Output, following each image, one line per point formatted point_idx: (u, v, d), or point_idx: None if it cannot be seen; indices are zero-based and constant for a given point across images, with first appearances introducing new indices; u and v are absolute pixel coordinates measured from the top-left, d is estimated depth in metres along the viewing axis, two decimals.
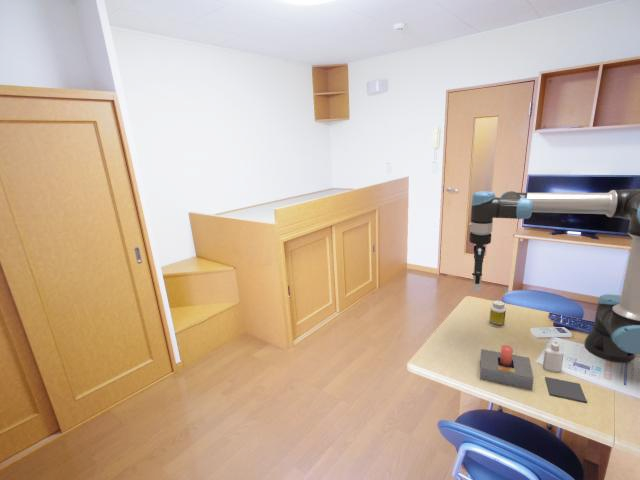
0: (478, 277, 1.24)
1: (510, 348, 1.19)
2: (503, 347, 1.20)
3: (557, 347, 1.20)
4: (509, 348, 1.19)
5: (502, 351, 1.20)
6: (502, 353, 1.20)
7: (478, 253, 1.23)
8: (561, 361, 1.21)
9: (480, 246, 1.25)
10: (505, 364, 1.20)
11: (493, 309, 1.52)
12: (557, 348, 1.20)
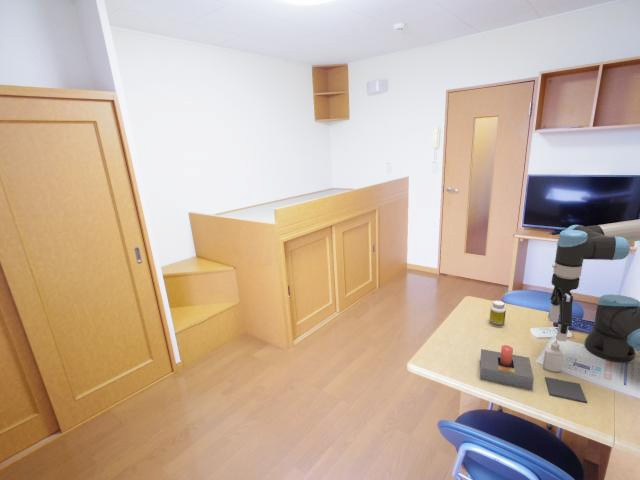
0: (565, 327, 1.10)
1: (510, 348, 1.19)
2: (503, 347, 1.20)
3: (557, 347, 1.20)
4: (509, 348, 1.19)
5: (502, 351, 1.20)
6: (502, 353, 1.20)
7: (566, 300, 1.09)
8: (561, 361, 1.21)
9: (567, 291, 1.11)
10: (505, 364, 1.20)
11: (493, 309, 1.52)
12: (557, 348, 1.20)
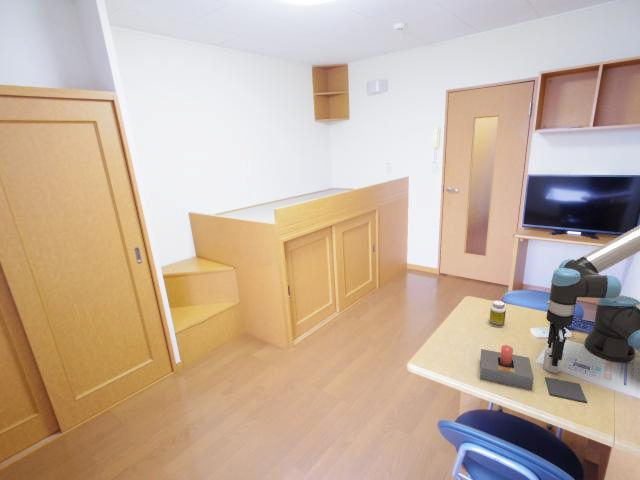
0: (556, 360, 1.19)
1: (510, 348, 1.19)
2: (503, 347, 1.20)
3: None
4: (509, 348, 1.19)
5: (502, 351, 1.20)
6: (502, 353, 1.20)
7: (559, 340, 1.14)
8: (561, 361, 1.21)
9: (561, 328, 1.15)
10: (505, 364, 1.20)
11: (493, 309, 1.52)
12: None
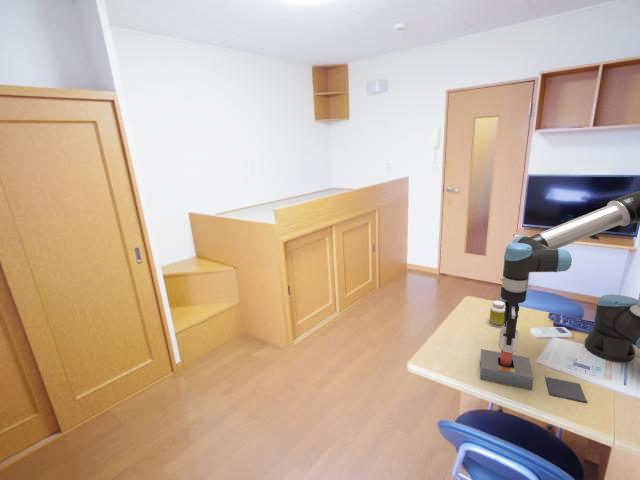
0: (510, 338, 1.15)
1: None
2: None
3: None
4: None
5: (502, 352, 1.20)
6: (502, 354, 1.20)
7: (511, 318, 1.10)
8: (516, 340, 1.16)
9: (514, 305, 1.11)
10: (505, 365, 1.20)
11: (493, 309, 1.52)
12: None
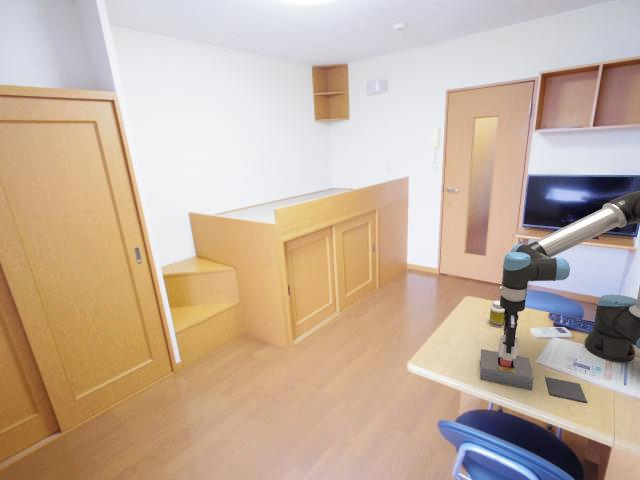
0: (510, 347, 1.16)
1: None
2: None
3: None
4: None
5: (501, 360, 1.21)
6: (501, 362, 1.21)
7: (511, 326, 1.11)
8: (515, 348, 1.17)
9: (513, 313, 1.12)
10: None
11: (493, 309, 1.52)
12: None
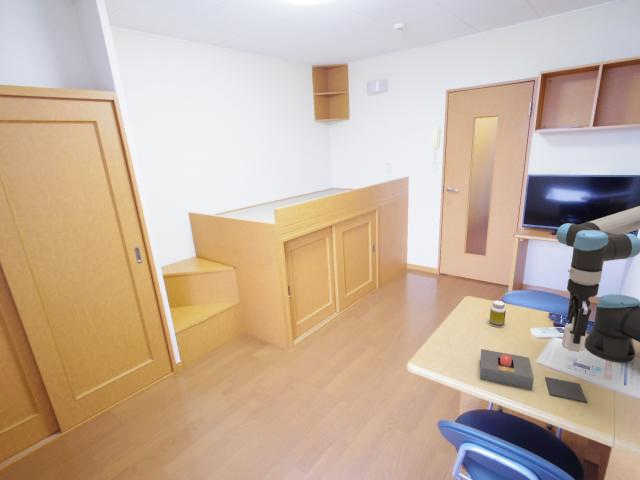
0: (578, 336, 1.04)
1: (509, 357, 1.20)
2: (502, 356, 1.21)
3: None
4: (508, 357, 1.20)
5: (501, 360, 1.21)
6: (501, 362, 1.21)
7: (583, 313, 0.99)
8: (584, 338, 1.06)
9: (585, 299, 1.00)
10: None
11: (493, 309, 1.52)
12: None
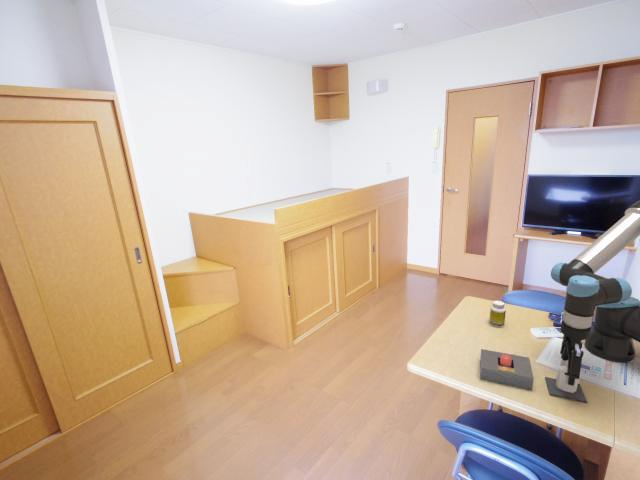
0: (573, 378, 1.06)
1: (509, 357, 1.20)
2: (502, 356, 1.21)
3: None
4: (508, 357, 1.20)
5: (501, 360, 1.21)
6: (501, 362, 1.21)
7: (576, 355, 1.03)
8: (577, 381, 1.10)
9: (578, 342, 1.04)
10: None
11: (493, 309, 1.52)
12: None
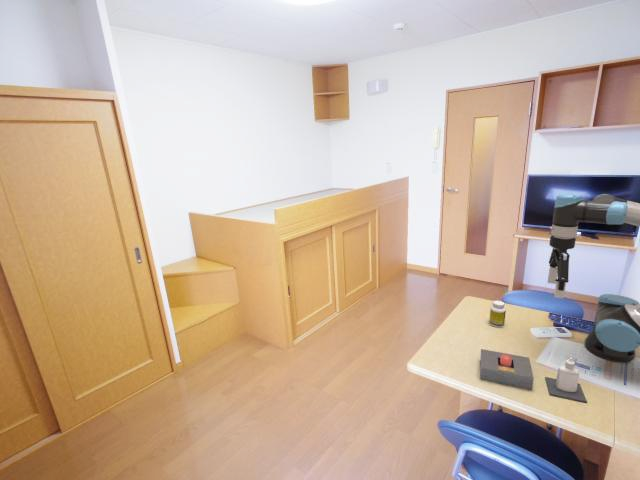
0: (563, 283, 1.18)
1: (509, 357, 1.20)
2: (502, 356, 1.21)
3: (572, 365, 1.09)
4: (508, 357, 1.20)
5: (501, 360, 1.21)
6: (501, 362, 1.21)
7: (563, 258, 1.17)
8: (576, 380, 1.10)
9: (564, 251, 1.19)
10: None
11: (493, 309, 1.52)
12: (572, 366, 1.09)
